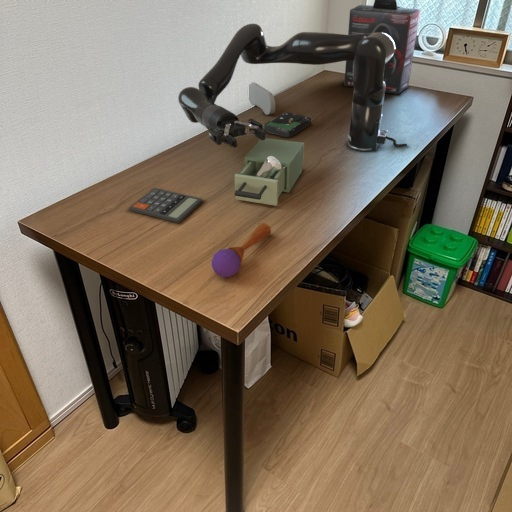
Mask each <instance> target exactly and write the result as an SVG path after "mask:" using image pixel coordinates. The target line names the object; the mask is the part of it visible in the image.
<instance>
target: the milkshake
mask: <svg viewBox="0 0 512 512" xmlns="http://www.w3.org/2000/svg"><path fill="white" fill-rule="evenodd" d="M287 166H288V165H287ZM285 167H286V166H285ZM283 168H284V167H283ZM280 169H282V168H281V164H280V162H279V160H277V159H276V158H275V157H273V156H269V157H267V159H266V160H265V162H264V163H263V165H262V166H261V167H260V169H259V170H258V172H257V173H256V174H255V176H254V177H261V178H268V179H271V178H272V177H273V176H274V175H275V174H276V173H277V172H278V171H279V170H280Z"/></svg>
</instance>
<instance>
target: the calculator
mask: <svg viewBox="0 0 512 512" xmlns="http://www.w3.org/2000/svg"><path fill="white" fill-rule="evenodd" d="M202 203H203V199H202V198H201V197H200V198H199V197H196V196H192V195H187V194H184V193H179V192H174V191H170V190H166V189H161V188H157V187H155V188H152V189H151V190H150V191H149V192H147V194H144V196H141V198H140V199H138V200H137V201H136V202H134V203H133V204H132V205H131V206H129V212H133V213H138V214H142V215H145V216H150V217H153V218H157V219H162V220H166V221H170V222H173V223H176V224H177V223H181V222H182V221H183V220H184V219H185V218H186V217H187V216H189V215H190V214H191V213H192V212H193V211H194V210H195V209H196V208H197V207H198V206H199V205H200V204H202Z"/></svg>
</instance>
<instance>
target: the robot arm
mask: <svg viewBox="0 0 512 512" xmlns="http://www.w3.org/2000/svg"><path fill="white" fill-rule="evenodd" d="M394 51H395V44H394V41H393V40H392V38H391V37H390V36H388V35H387V34H385V33H381V32H376V33H368V34H357V35H348V34H344V33H343V34H342V33H335V32H334V33H333V32H319V31H317V32H316V31H301V32H298V33H296V34H294V35H292V36H291V37H290V38H289V39H288V40H286V41H285V42H284V43H283V44H280V45H276V46H275V45H274V46H272V45H271V46H270V45H268V44H267V41H266V38H265V34H264V32H263V29H262V27H261V26H260V25H259V24H258V23H247V24H244V26H241V27H240V28H239V29H238V30H237V31H236V32H235V34H234V35H233V37H232V38H231V40H230V42H229V43H228V45H227V46H226V47H225V49H224V50H223V52H222V54H221V56H220V57H219V59H218V60H217V61H216V62H215V64H214V65H213V66H212V67H211V68H210V69H209V71H207V72H206V74H204V76H203V77H202V78H201V79H200V80H199V82H198V84H197V85H198V86H197V87H194V86H187V87H184V88H183V89H182V90H181V91H180V92H179V94H178V98H177V100H178V104H179V105H180V107H181V109H182V111H183V112H184V114H185V116H186V117H187V119H188V120H189V122H190V123H194V124H197V123H199V124H200V125H201V126H203V127H205V129H207V130H208V138H209V139H210V140H211V141H212V142H213V143H215V144H216V145H217V146H220V145H222V144H224V145H227V146H229V147H231V148H233V149H236V148H238V139H236V138H237V137H247V138H248V137H255V138H257V139H259V140H260V139H261V140H265V138H266V131H264V124H263V123H261V122H259V121H257V120H255V119H253V118H248V121H247V122H244V121H242V120H240V119H239V118H238V116H237V115H236V114H235V113H233V112H232V111H230V110H228V109H226V108H225V107H223V106H222V105H218V104H217V103H216V101H217V98H218V96H220V94H221V93H222V92H223V91H224V90H225V89H226V88H227V87H228V85H229V84H230V83H231V81H232V78H233V76H234V73H235V71H236V67H237V64H238V61H239V59H240V57H241V60H242V62H244V63H246V64H250V65H265V64H296V65H297V64H299V65H311V66H312V65H313V66H320V65H329V64H335V63H340V62H346V61H354V65H353V84H354V87H353V93H352V102H351V112H350V122H349V132H348V133H347V138H348V141H347V147H348V148H350V149H352V150H354V151H358V152H370V151H371V152H372V151H373V152H376V151H377V148H378V147H379V145H380V144H381V145H385V143H386V141H387V140H389V141H391V142H392V145H393V146H394V147H396V148H401V147H407V146H408V143H397V140H396V139H395V138H393V137H391V136H388V130H383V129H381V128H382V119H383V108H384V101H385V93H386V92H385V88H386V84H385V82H384V81H383V76H384V67H385V64H386V63H387V62H388V61H389V60H390V59H391V58H392V56H393V54H394Z"/></svg>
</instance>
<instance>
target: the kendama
mask: <svg viewBox="0 0 512 512" xmlns="http://www.w3.org/2000/svg"><path fill="white" fill-rule="evenodd" d="M271 232H272V228H271V227H270V225H269V224H267V223H265V222H262V223H260V224H258V226H257V227H256V228H255V229H254V231H252V233H251V234H250V235H249V236H248V237H247V239H246V240H245V241H244V242H243V244H242V245H240V246H231V247H228V248H222V249H220V250H218V251H217V252H215V253H214V254H213V256H212V259H211V268H212V270H213V272H214V273H215V274H216V275H218V276H219V277H221V278H230V277H231V278H232V277H233V276H234V275H235V274H237V273H238V272H239V269H240V267H241V264H242V262H243V259H244V254H245V251H246V250H248V249H249V248H250V247H252V246H254V245H255V244H257V243H259V242H260V241H262V240H264V239H265V238H267V237H268V236H270V235H271Z"/></svg>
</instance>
